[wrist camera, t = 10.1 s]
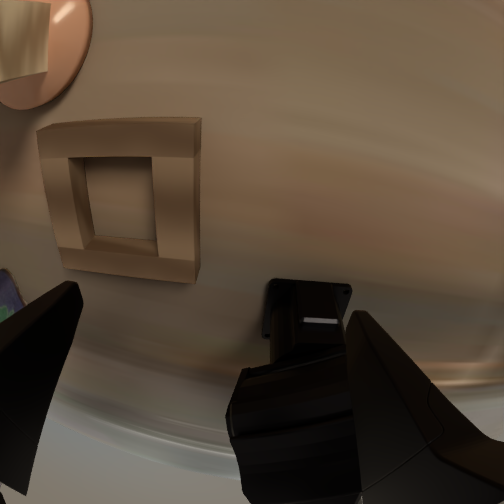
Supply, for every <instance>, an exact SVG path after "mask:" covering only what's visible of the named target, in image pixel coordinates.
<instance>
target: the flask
mask: <svg viewBox="0 0 504 504" xmlns="http://www.w3.org/2000/svg"><path fill="white" fill-rule="evenodd" d="M21 295H22V293H21V292H20V291H19V289H18V285H17V284H16V281H15V279H14V276H13V275H12V273H11V272H10V271H9V270H8V269H7V268H6V269H5V268H2V269H0V323H1V322H2V321H4V320H5V319H7V318H8V317H10V316H11V315H13V314H14V313H16V312H17V311H19V310H20V309H22V308H23V307H25V306H26V305H28V304H27V302H26V301H25V300H24V299H23V298H22V296H21Z"/></svg>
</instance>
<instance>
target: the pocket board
mask: <svg viewBox="0 0 504 504" xmlns="http://www.w3.org/2000/svg"><path fill="white" fill-rule="evenodd" d="M201 119H202V118H194V117H140V118H115V119H98V120H85V121H74V122H65V123H56V124H51V125H49V126H47V127H44V128H42V129H40V130H38V131H36V133H37V142H38V150H39V157H40V164H41V170H42V177H43V182H44V188H45V193H46V198H47V203H48V208H49V212H50V217H51V221H52V225H53V230H54V234H55V238H56V241H57V245H58V249H59V252H60V256H61V260H62V263H63V266H64V268H69V269H76V270H83V271H90V272H98V273H106V274H113V275H121V276H129V277H137V278H146V279H154V280H163V281H172V282H181V283H191V284H196V280H197V277H198V273H199V270H200V151H201ZM109 156H141V157H152V175H153V193H154V209H155V222H156V234H157V241H153V240H142V239H131V238H119V237H108V236H96V235H95V232H94V227H93V222H92V216H91V210H90V204H89V197H88V191H87V184H86V176H85V168H84V159H83V157H109Z"/></svg>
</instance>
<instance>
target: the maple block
mask: <svg viewBox="0 0 504 504" xmlns="http://www.w3.org/2000/svg"><path fill="white" fill-rule="evenodd" d="M50 9H51V3H43V2H33V1H19V0H0V84H2V83H6V82H9V81H13V80H16V79H20V78H23V77H27V76H31V75H34V74H38V73H43V72H47V71H48V37H49V20H50Z"/></svg>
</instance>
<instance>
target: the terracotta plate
mask: <svg viewBox="0 0 504 504" xmlns="http://www.w3.org/2000/svg"><path fill="white" fill-rule="evenodd" d="M19 1H33V2H43V3H51V9H50V20H49V37H48V71H47V72H43V73H38V74H34V75H31V76H27V77H23V78H20V79H16V80H13V81H9V82H6V83H2V84H0V102H1V103H3V104H4V105H5V106H7V107H9V108H12V109H16V110H26V109H31V108H35V107H37V106H40V105H43V104H45V103H48V102H50V101H51V100H53V99H55V98H56V97H57V96H59V95H60V94H61V93H62V92H63V91H64V90H65V89H66V88H67V87H68V86H69V85H70V83H71V82H72V81H73V80H74V78H75V77H76V75H77V74H78V72H79V70H80V68H81V66H82V64H83V62H84V60H85V57H86V55H87V52H88V49H89V46H90V41H91V37H92V28H93V17H92V9H91V5H90V2H89V0H19Z"/></svg>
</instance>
